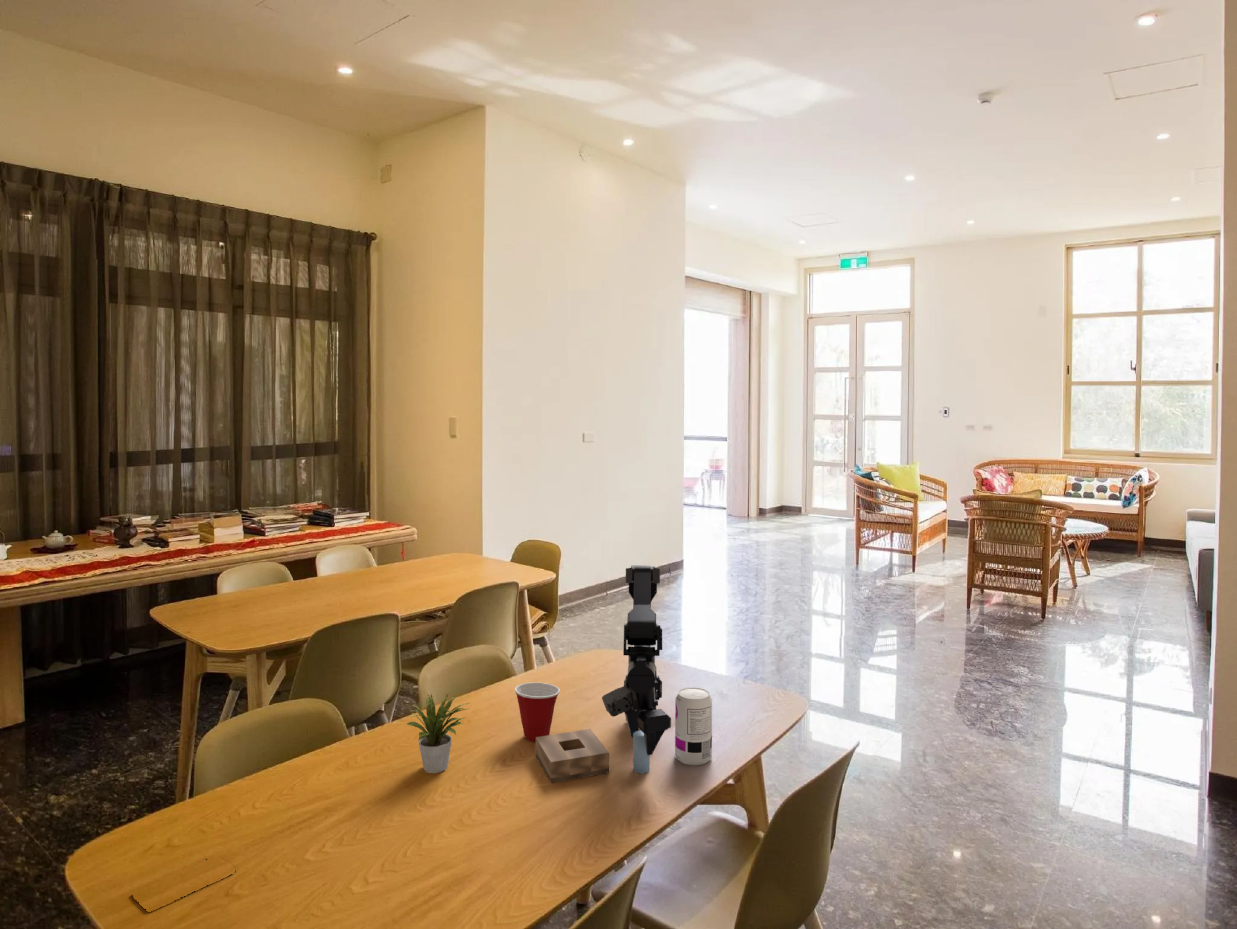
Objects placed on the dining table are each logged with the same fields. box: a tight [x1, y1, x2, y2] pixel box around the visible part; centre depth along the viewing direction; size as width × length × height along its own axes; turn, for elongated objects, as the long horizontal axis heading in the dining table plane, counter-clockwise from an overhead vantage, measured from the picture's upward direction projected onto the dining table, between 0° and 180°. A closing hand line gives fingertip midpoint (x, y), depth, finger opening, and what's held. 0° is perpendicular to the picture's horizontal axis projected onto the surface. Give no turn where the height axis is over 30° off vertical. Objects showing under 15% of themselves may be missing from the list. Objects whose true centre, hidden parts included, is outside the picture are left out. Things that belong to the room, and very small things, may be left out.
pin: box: [632, 730, 651, 775], centre depth 169 cm, size 4×4×8 cm
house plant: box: [406, 693, 470, 774], centre depth 168 cm, size 14×14×16 cm
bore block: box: [535, 728, 610, 784], centre depth 171 cm, size 13×13×4 cm
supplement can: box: [674, 687, 713, 766], centre depth 174 cm, size 8×8×15 cm
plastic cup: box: [514, 681, 561, 743], centre depth 185 cm, size 11×11×12 cm
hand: (641, 745), depth 169 cm, fingers open, 9 cm apart
